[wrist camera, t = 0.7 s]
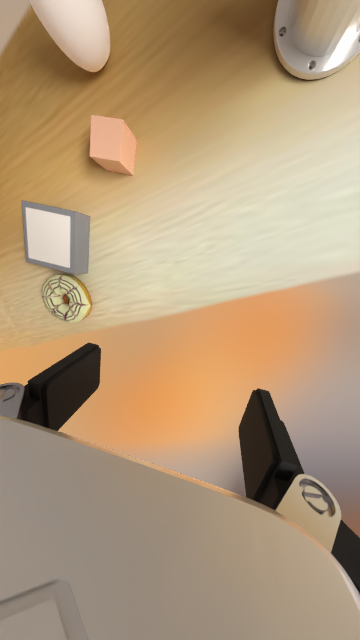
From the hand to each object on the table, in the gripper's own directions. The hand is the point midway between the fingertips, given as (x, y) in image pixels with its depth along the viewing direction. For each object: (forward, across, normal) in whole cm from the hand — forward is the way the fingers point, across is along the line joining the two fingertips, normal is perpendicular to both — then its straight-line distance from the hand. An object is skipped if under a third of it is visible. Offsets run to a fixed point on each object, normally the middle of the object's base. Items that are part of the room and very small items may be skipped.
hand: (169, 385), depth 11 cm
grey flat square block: (+28, +31, -6) cm, 42 cm away
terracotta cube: (+28, +19, -21) cm, 40 cm away
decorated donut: (+28, +29, +6) cm, 41 cm away
